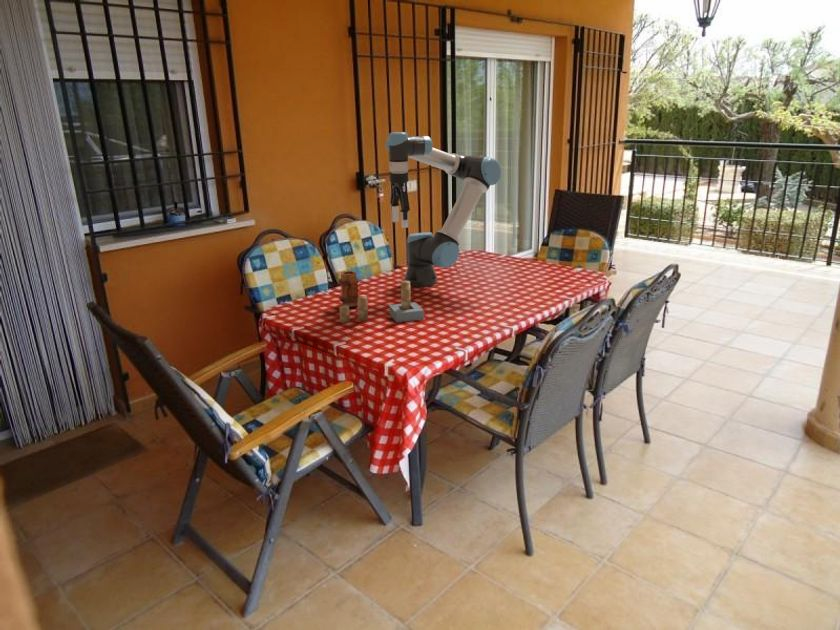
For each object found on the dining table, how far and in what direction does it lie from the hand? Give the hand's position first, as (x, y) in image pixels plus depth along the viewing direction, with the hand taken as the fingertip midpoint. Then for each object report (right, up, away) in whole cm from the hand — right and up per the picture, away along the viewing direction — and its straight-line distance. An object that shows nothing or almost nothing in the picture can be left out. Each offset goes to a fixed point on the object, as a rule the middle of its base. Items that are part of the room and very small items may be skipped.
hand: (400, 224), depth 258 cm
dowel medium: (-14, -39, -16) cm, 44 cm away
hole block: (+3, -38, -13) cm, 40 cm away
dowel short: (-21, -40, -18) cm, 48 cm away
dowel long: (+3, -38, -13) cm, 40 cm away
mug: (-20, -34, -1) cm, 40 cm away
